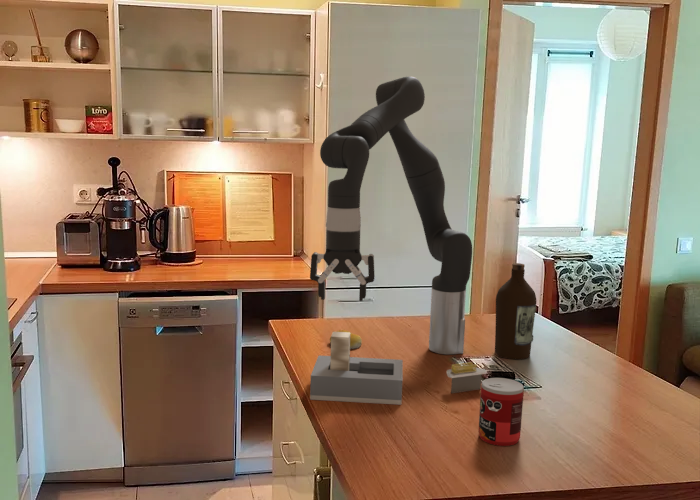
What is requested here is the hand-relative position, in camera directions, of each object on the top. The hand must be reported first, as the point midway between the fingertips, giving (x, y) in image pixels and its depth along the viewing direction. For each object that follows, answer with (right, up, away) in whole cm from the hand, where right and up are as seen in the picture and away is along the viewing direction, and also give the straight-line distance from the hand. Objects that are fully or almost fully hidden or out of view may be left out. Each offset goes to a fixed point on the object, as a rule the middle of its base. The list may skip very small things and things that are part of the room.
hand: (341, 299), depth 151 cm
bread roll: (+1, -16, +38) cm, 41 cm away
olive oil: (+46, -18, +33) cm, 59 cm away
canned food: (+31, -26, -19) cm, 45 cm away
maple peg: (-1, -20, +3) cm, 20 cm away
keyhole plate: (+4, -21, +3) cm, 22 cm away
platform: (+28, -22, +6) cm, 36 cm away
